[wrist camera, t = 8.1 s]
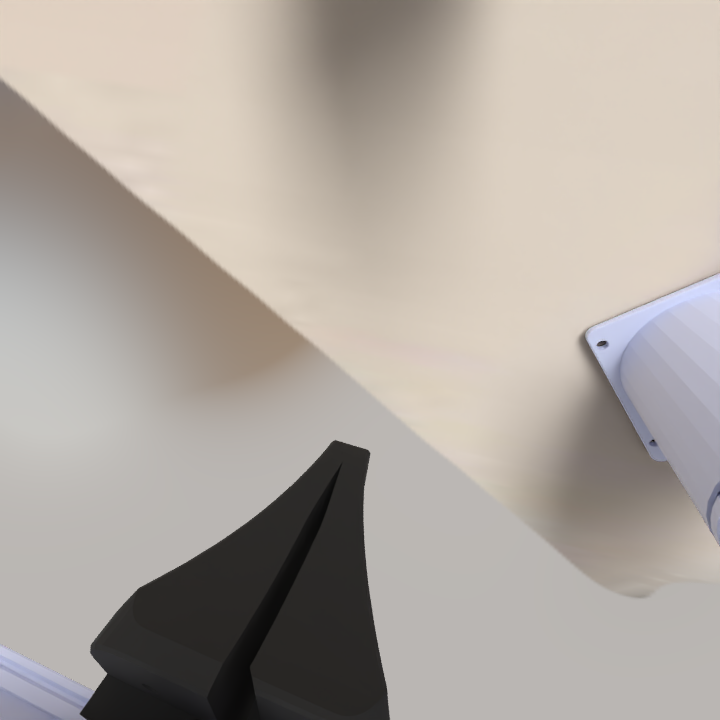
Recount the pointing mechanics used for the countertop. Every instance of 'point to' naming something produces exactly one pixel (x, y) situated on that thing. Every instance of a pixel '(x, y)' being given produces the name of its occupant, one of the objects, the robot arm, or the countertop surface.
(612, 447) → the countertop surface
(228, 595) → the robot arm
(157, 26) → the countertop surface
